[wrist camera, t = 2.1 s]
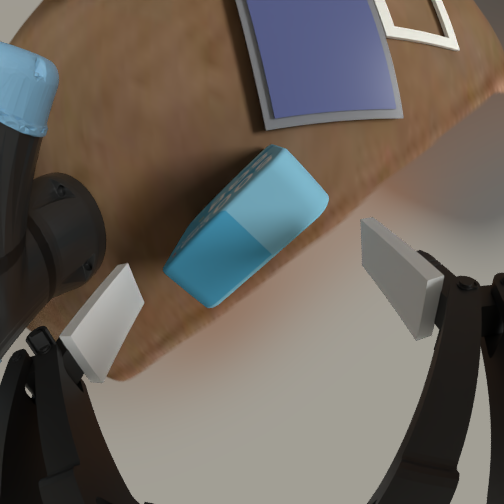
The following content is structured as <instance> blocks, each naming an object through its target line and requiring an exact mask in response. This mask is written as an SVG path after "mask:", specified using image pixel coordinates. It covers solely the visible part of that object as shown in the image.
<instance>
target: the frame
mask: <svg viewBox="0 0 504 504" xmlns="http://www.w3.org/2000/svg"><path fill="white" fill-rule="evenodd" d="M431 1H432V3H433V6H434V8H435V11H436V13H437V16H438V18H439V21H440V24H441V27H442V29H443V32H444V35H445V37H443V36H439V35H435V34H431V33H427V32H422V31H417V30H412V29H407V28H401V27H395V26H394V24H393V21H392V18H391V15H390V13H389V10H388V7H387V5H386V2H385V0H373V3H374V5H375V8H376V10H377V13H378V16H379V19H380V22H381V25H382V28H383V31H384V34H385V37H386V38H391V39H399V40H405V41H412V42H417V43H423V44H428V45H433V46H437V47H441V48H445V49H449V50H453V51H460V50H459V46H458V43H457V40H456V37H455V34H454V31H453V28H452V25H451V22H450V20H449V17H448V14H447V12H446V9H445V7H444V4H443V2H442V0H431Z"/></svg>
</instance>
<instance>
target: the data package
mask: <svg viewBox="0 0 504 504" xmlns="http://www.w3.org/2000/svg"><path fill="white" fill-rule="evenodd" d="M328 201H329V197H328V195H327V193H326V192H325V191H324V190H323V189H322V188H321V186H320V185H319V184H318V183H317V182H316V181H315V180H314V178H313V177H312V176H311V175H310V174H309V173H308V172H307V171H306V170H305V168H304V167H303V166H302V165H301V164H300V163H299V162H298V161H297V160H296V159H295V158H294V157H293V155H292V154H291V153H290V152H289V151H288V150H287V149H286V148H283V147H279V146H276V145H269V146H268V147H266V148H265V149H264V150H263V151H262V152H261V153H260V154H258V155H257V156H256V157H255V158H254V159H253V160H252V161H251V162H250V163H249V164H248V165H247V166H246V167H245V168H244V169H243V170H242V171H241V172H240V173H239V174H238V175H237V176H236V177H235V178H234V179H233V180H232V181H231V182H230V183H229V184H228V185H227V186H226V187H225V188H224V189H223V190H222V191H221V192H220V193H219V194H218V195H217V196H216V197H215V198H214V199H213V200H212V201H211V202H210V203H209V204H208V205H207V206H206V207H205V208H204V209H203V210H202V211H201V212H200V213H199V214H198V215H197V216H196V218H195V219H194V220H193V221H192V222H191V223H190V225H189V226H188V228H187V229H186V231H185V232H184V234H183V236H182V237H181V239H180V240H179V242H178V244H177V245H176V247H175V249H174V250H173V252H172V254H171V255H170V257H169V259H168V260H167V262H166V264H165V265H164V267H163V272H164V273H165V274H166V275H167V276H168V277H170V278H171V279H172V280H173V281H174V282H176V283H177V284H178V285H179V286H181V287H182V288H183V289H184V290H185V291H187V292H188V293H189V294H190V295H192V296H193V297H194V298H195V299H197V300H198V301H199V302H200V303H202V304H203V305H204V306H205V307H207V308H213V307H215V306H217V305H218V304H219V303H221V302H222V301H223V300H224V299H225V298H227V297H228V296H229V295H230V294H231V293H232V292H234V291H235V290H236V289H237V288H238V287H239V286H241V285H242V284H243V283H244V282H245V281H246V280H247V279H249V278H250V277H251V276H252V275H253V274H254V273H256V272H257V271H258V270H259V269H260V268H261V267H262V266H264V265H265V264H266V263H267V262H268V261H269V260H270V259H272V258H273V257H274V256H275V255H276V254H277V253H278V252H280V251H281V250H282V249H283V248H284V247H285V246H286V245H288V244H289V243H290V242H291V241H292V240H293V239H294V238H296V237H297V236H298V235H299V234H300V233H301V232H302V231H303V230H305V229H306V228H307V227H308V226H309V225H310V224H311V223H312V222H314V221H315V220H316V219H317V218H318V217H319V216H320V215H321V214H322V212H323V211H324V210H325V208H326V206H327V204H328Z"/></svg>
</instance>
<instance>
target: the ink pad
mask: <svg viewBox="0 0 504 504" xmlns="http://www.w3.org/2000/svg"><path fill="white" fill-rule="evenodd" d="M235 3H236V6H237V10H238V14H239V18H240V22H241V26H242V29H243V33H244V37H245V42H246V46H247V50H248V54H249V58H250V62H251V67H252V71H253V75H254V80H255V84H256V89H257V93H258V98H259V103H260V107H261V112H262V117H263V121H264V126H265V131H267V130H273V129H279V128H286V127H292V126H300V125H308V124H316V123H325V122H336V121H348V120H363V119H390V118H404V117H403V111H402V105H401V99H400V94H399V89H398V84H397V79H396V75H395V71H394V66H393V62H392V59H391V55H390V51H389V47H388V44H387V41H386V37H385V34H384V31H383V28H382V25H381V22H380V19H379V16H378V13H377V10H376V8H375V5H374V3H373V0H235Z"/></svg>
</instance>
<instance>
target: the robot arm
mask: <svg viewBox="0 0 504 504" xmlns="http://www.w3.org/2000/svg"><path fill="white" fill-rule="evenodd" d="M58 83H59V74H58V71H57V68H56V66H55V65H54V64H53V63H52V62H51V61H50V60H48V59H46V58H44V57H42V56H40V55H37V54H35V53H32V52H30V51H27V50H24V49H22V48H19V47H16V46H13V45H10V44H7V43H4V42H0V362H1V361H2V360H1V359H2V357H3V356H4V355H5V353H6V352H7V350H8V349H9V348H10V347H11V345H12V344H13V343H14V342H15V340H16V339H17V338H18V337H19V335H20V334H21V333H22V332H23V331H24V329H25V328H26V327H27V326H28V325H29V323H30V322H31V321H32V320H33V319H34V318H35V316H36V315H37V314H38V313H39V312H40V311H41V310H42V308H43V307H44V306H45V305H46V304H47V303H48V302H49V301H50V300H51V299H52V298H53V297H55V296H58V295H60V294H63V293H66V292H68V291H71V290H73V289H76V288H78V287H80V286H82V285H83V284H85V283H86V282H87V281H88V280H89V279H90V278H91V277H92V276H93V275H94V274H95V273H96V272H97V270H98V269H99V267H100V266H101V264H102V261H103V258H104V255H105V249H106V233H105V227H104V222H103V218H102V215H101V212H100V210H99V208H98V206H97V203H96V202H95V200H94V198H93V197H92V195H91V194H90V192H89V191H88V190H87V189H86V188H85V187H84V186H83V185H82V184H81V183H80V182H79V181H78V180H76V179H75V178H73V177H71V176H69V175H67V174H63V173H50V174H46V175H43V176H40V177H38V178H35V179H34V180H33V177H34V172H35V167H36V162H37V158H38V154H39V150H40V146H41V142H42V138H43V136H45V135H46V133H47V130H48V128H47V121H48V117H49V113H50V110H51V107H52V103H53V100H54V97H55V94H56V91H57V88H58ZM360 222H361V241H362V242H361V243H362V266H363V267H364V268H365V270H366V271H367V272H368V273H369V275H370V276H371V277H372V279H373V280H374V281H375V282H376V284H377V285H378V287H379V288H380V290H381V291H382V292H383V294H384V295H385V296H386V298H387V299H388V301H389V302H390V303H391V305H392V306H393V307H394V309H395V310H396V312H397V313H398V315H399V316H400V317H401V319H402V320H403V322H404V323H405V325H406V326H407V328H408V329H409V331H410V332H411V334H412V335H413V337H414V338H415V340H416V341H417V340H420V339H423V338H425V337H428V336H431V335H432V332H433V328H434V324H435V325H436V326H437V327H438V328H439V334H438V337H437V340H436V344H435V347H434V354H433V357H432V361H431V365H430V368H429V372H428V375H427V379H426V382H425V385H424V388H423V391H422V394H421V397H420V399H419V402H418V405H417V408H416V410H415V413H414V415H413V418H412V420H411V423H410V425H409V428H408V430H407V433H406V435H405V437H404V439H403V442H402V443H401V446H400V448H399V450H398V452H397V454H396V456H395V458H394V460H393V462H392V464H391V466H390V468H389V469H388V471H387V473H386V475H385V477H384V479H383V480H382V482H381V484H380V485H379V487H378V489H377V490H376V492H375V493H374V494H373V496H372V497H371V499H370V500H369V502H368V503H367V504H450V502H451V500H452V498H453V495H454V493H455V490H456V488H457V484H458V481H459V472H458V471H457V464H458V461H459V457H460V455H461V451H462V448H463V445H464V441H465V438H466V434H467V430H468V426H469V422H470V418H471V413H472V408H473V403H474V397H475V391H476V385H477V377H478V368H479V359H480V347H481V350H482V355H483V360H484V366H485V372H486V378H487V386H488V394H489V404H490V417H491V418H490V419H491V463H490V476H489V486H488V495H487V504H504V273H498V274H496V275H495V276H494V279H493V283H492V285H488V286H480V284H479V283H478V282H477V281H476V280H474V279H473V278H470V277H467V276H458V277H456V276H455V275H453V273H451V272H450V271H449V270H448V269H447V268H445V267H444V266H443V265H441V263H440V262H438V261H437V260H436V259H435V258H434V257H432V256H431V255H430V254H428V253H426V252H423V251H421V250H419V251H415V250H414V249H413V248H412V247H411V246H409V245H408V244H407V243H406V242H404V241H403V240H402V239H401V238H399V237H398V236H397V235H395V234H394V233H393V232H392V231H391V230H389V229H388V228H386V227H385V226H384V225H383V224H381V223H380V222H379V221H377V220H376V219H375V218H373V217H371V218H365V219H361V220H360ZM143 304H144V300H143V298H142V296H141V294H140V291H139V289H138V287H137V284H136V282H135V279H134V277H133V274H132V272H131V269H130V267H129V264H128V263H126V264H121V265H117V266H116V267H115V269H114V270H113V271H112V272H111V273H110V274H109V275H108V277H107V278H106V279H105V280H104V281H103V282H102V283H101V285H100V286H99V287H98V288H97V289H96V290H95V292H94V293H93V294H92V295H91V296H90V298H89V299H88V300H87V301H86V303H85V304H84V305H83V306H82V307H81V309H80V310H79V311H78V312H77V314H76V315H75V316H74V318H73V319H72V320H71V321H70V323H69V324H68V325H67V327H66V328H65V329H64V330H63V332H62V333H61V334H60V336H59V338H58V340H57V341H56V342H55V340H54V339H53V337H52V335H51V334H50V332H49V331H48V329H47V327H45V326H40V327H38V328H36V329H35V330H33V331H32V332H31V333H30V334H29V335H28V336H27V338H26V342H27V343H28V345H29V347H30V348H31V350H32V351H33V353H34V354H35V356H32V357H30V356H29V354H28V353H27V352H26V350H25V349H21V350H19V351H16V352H14V353H13V355H12V356H11V358H10V359H9V362H8V364H7V367H6V370H5V373H4V376H3V379H2V381H1V385H0V504H139V503H138V502H137V501H136V500H135V499H134V498H133V497H132V495H131V493H130V492H129V490H128V488H127V486H126V484H125V482H124V480H123V479H122V477H121V475H120V473H119V471H118V469H117V466H116V464H115V462H114V460H113V458H112V456H111V454H110V451H109V449H108V447H107V444H106V442H105V440H104V437H103V435H102V432H101V430H100V427H99V424H98V422H97V419H96V416H95V413H94V410H93V407H92V404H91V401H90V398H89V395H88V392H87V388H86V385H85V383H84V381H83V380H82V379H81V378H82V376H83V374H85V375H86V377H87V378H88V379H89V380H90V382H96V383H103V382H104V379H105V377H106V375H107V373H108V371H109V369H110V367H111V365H112V363H113V361H114V359H115V357H116V355H117V353H118V351H119V349H120V347H121V345H122V343H123V341H124V340H125V338H126V336H127V334H128V332H129V330H130V328H131V326H132V324H133V323H134V321H135V319H136V317H137V315H138V313H139V312H140V310H141V308H142V306H143ZM25 386H26V388H27V389H28V390H29V391H30V392H31V394H32V398H30V397H29V396H28V394H27V393H26V391H25ZM144 504H153V503H148V502H145V503H144Z"/></svg>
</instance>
